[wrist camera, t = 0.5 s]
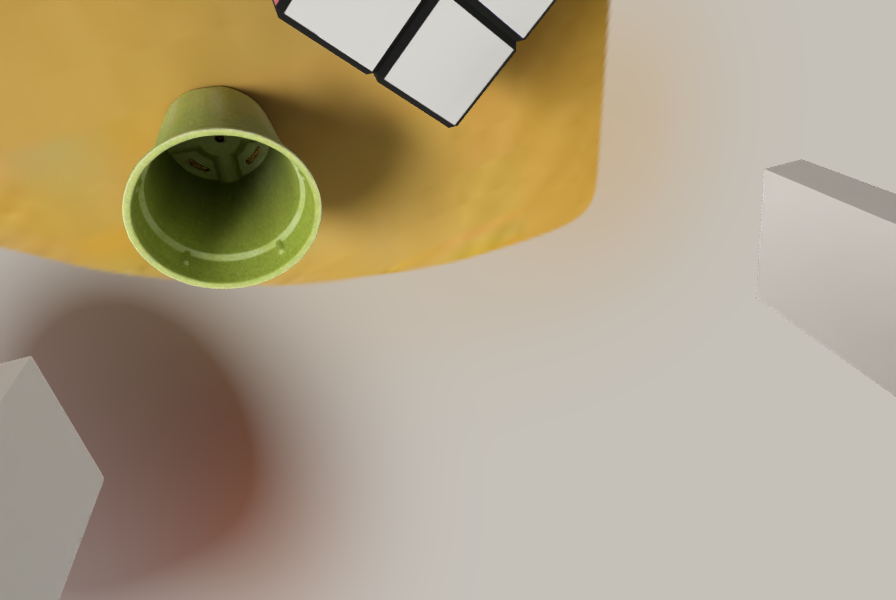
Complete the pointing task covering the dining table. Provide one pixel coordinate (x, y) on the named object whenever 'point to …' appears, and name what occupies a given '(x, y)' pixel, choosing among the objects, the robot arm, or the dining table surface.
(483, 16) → the puzzle cube
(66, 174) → the dining table surface
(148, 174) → the plant pot
